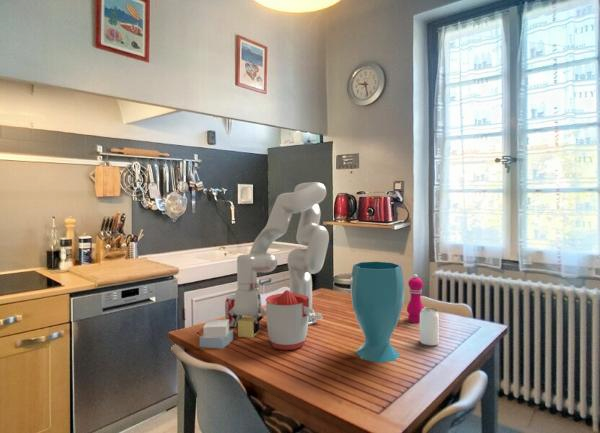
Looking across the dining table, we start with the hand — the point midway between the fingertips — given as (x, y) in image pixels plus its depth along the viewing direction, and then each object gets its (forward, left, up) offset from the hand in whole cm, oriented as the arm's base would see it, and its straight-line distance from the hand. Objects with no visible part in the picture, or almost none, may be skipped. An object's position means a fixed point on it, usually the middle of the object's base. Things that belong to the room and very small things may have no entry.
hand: (248, 331), depth 144 cm
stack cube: (0, 0, -1) cm, 1 cm away
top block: (+8, +11, +2) cm, 14 cm away
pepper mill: (-65, -30, -1) cm, 72 cm away
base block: (+8, +11, -2) cm, 14 cm away
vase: (-50, +8, -1) cm, 51 cm away
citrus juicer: (-19, +7, -1) cm, 20 cm away
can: (-68, -5, -1) cm, 68 cm away
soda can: (+10, -9, -1) cm, 14 cm away
